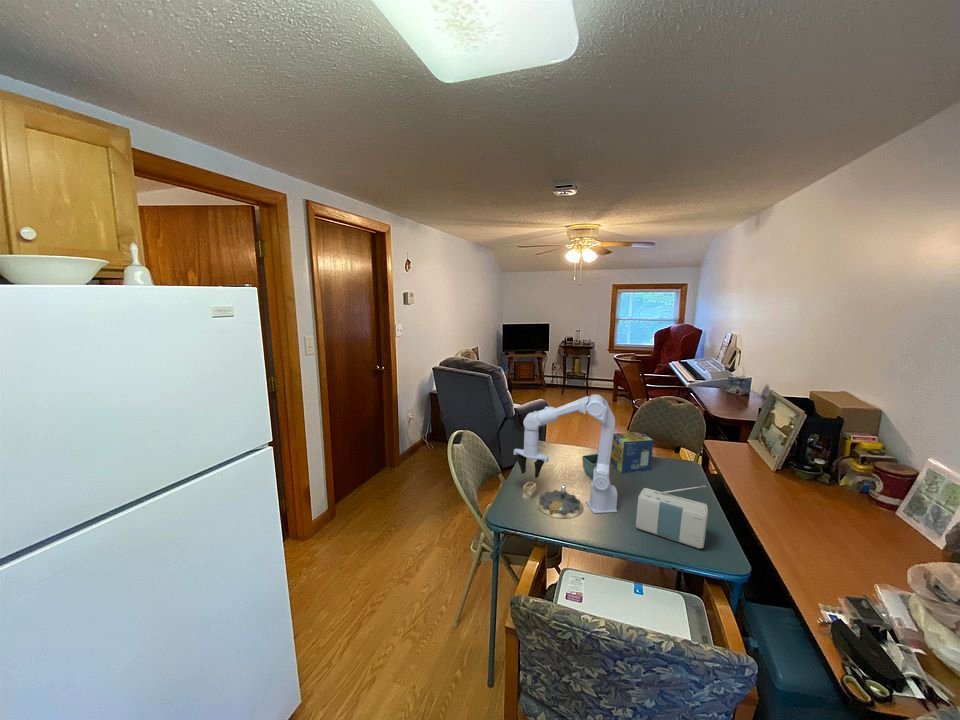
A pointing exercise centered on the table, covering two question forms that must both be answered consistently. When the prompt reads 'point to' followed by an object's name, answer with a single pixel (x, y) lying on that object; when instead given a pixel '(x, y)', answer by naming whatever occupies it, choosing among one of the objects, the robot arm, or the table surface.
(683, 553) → the table surface
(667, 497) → the stereo radio cassette player
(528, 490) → the link block
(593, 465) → the flower pot
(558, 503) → the sprocket
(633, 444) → the protein box
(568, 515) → the sprocket base
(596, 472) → the robot arm
